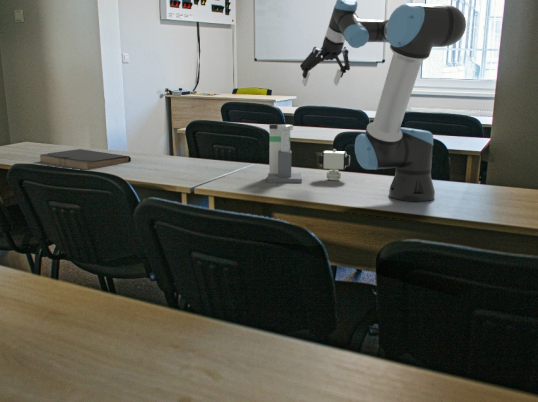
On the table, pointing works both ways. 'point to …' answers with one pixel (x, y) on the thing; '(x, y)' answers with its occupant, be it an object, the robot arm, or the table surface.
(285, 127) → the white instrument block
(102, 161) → the brown book
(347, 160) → the pneumatic valve
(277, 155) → the stand
